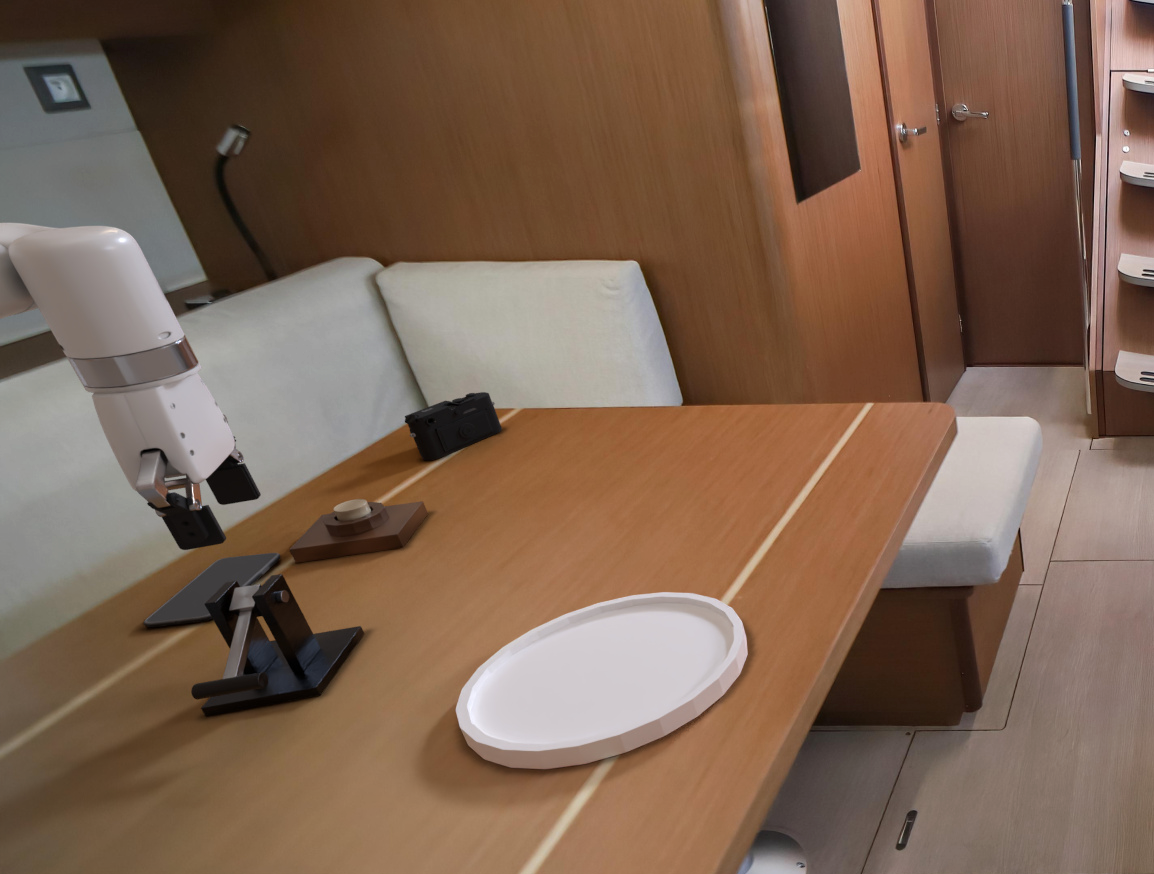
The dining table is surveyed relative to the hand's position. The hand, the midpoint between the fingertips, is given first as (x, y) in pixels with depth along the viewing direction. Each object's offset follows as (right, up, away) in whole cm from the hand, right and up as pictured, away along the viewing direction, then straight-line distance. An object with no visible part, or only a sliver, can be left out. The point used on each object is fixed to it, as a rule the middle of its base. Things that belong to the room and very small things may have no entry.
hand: (223, 522), depth 96 cm
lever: (-7, -14, +9) cm, 18 cm away
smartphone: (-31, -11, +28) cm, 44 cm away
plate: (+30, -19, +15) cm, 38 cm away
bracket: (-8, -19, +14) cm, 25 cm away
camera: (-33, +8, +68) cm, 76 cm away
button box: (-24, -5, +41) cm, 47 cm away
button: (-24, -2, +39) cm, 46 cm away
